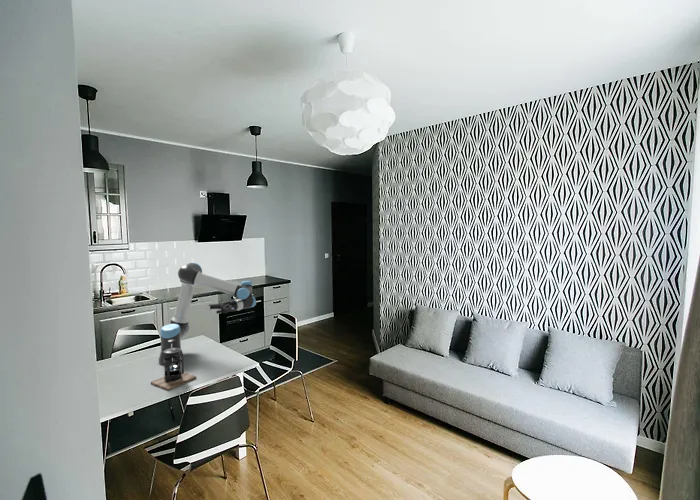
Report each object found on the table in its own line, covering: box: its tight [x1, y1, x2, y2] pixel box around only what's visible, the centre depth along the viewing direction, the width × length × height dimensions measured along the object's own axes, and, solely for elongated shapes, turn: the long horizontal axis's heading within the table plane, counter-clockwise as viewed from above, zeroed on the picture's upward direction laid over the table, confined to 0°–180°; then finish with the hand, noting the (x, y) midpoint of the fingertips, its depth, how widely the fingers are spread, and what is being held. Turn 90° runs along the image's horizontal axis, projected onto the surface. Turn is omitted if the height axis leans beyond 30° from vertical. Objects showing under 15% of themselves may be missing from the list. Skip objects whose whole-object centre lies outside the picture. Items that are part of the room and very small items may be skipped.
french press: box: [163, 339, 185, 382], centre depth 210 cm, size 12×9×23 cm
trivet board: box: [150, 370, 197, 391], centre depth 210 cm, size 16×18×1 cm
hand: (205, 311), depth 233 cm, fingers open, 13 cm apart
